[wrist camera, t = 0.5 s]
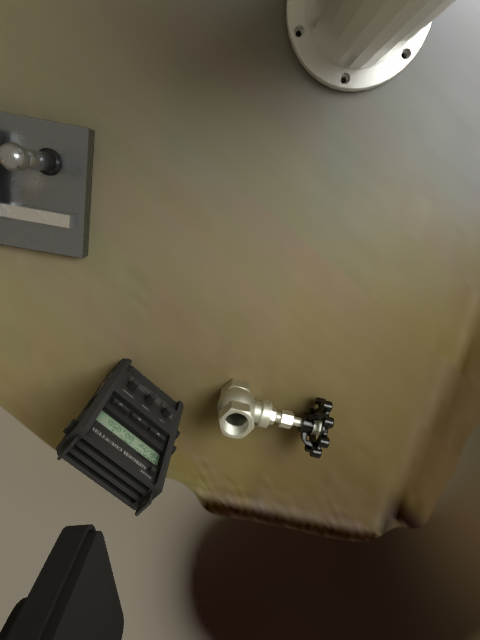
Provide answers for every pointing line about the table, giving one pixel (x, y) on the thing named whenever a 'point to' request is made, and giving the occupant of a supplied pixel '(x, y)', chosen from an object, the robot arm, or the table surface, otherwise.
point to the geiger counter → (125, 437)
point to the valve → (271, 417)
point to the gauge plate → (45, 185)
